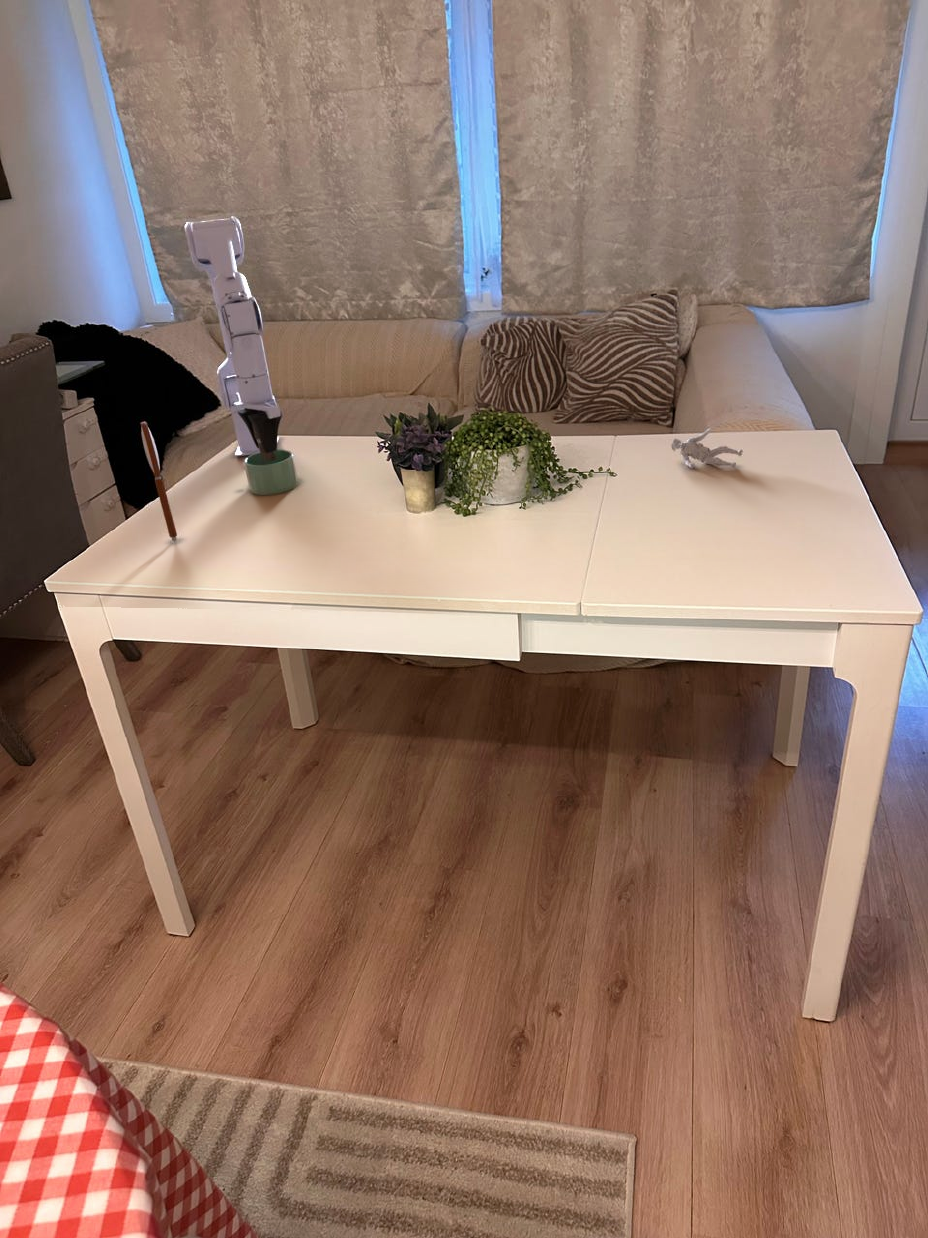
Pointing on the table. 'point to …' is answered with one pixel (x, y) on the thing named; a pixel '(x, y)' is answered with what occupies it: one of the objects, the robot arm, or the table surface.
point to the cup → (271, 473)
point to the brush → (264, 455)
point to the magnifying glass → (158, 478)
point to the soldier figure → (703, 451)
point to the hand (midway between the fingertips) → (266, 448)
